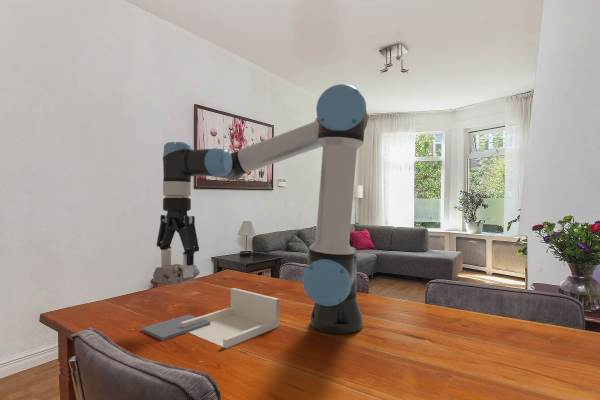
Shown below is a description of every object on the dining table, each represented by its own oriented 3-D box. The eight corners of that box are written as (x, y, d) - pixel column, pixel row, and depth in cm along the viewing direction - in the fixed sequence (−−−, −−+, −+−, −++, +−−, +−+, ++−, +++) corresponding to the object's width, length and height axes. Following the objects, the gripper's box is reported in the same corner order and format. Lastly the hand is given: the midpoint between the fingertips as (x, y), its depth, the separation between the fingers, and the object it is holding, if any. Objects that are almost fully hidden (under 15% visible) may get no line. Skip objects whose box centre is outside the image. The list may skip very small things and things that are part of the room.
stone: (179, 264, 108) (205, 263, 104) (178, 283, 107) (204, 283, 103) (145, 263, 96) (173, 261, 92) (143, 284, 95) (172, 284, 91)
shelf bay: (279, 327, 101) (279, 298, 101) (226, 349, 86) (226, 315, 86) (233, 313, 113) (233, 287, 113) (180, 330, 98) (180, 301, 98)
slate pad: (210, 324, 102) (210, 322, 102) (162, 340, 90) (162, 337, 90) (188, 316, 109) (188, 314, 109) (141, 330, 97) (141, 327, 97)
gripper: (212, 197, 95) (212, 277, 95) (167, 197, 110) (167, 267, 110) (188, 196, 89) (188, 282, 89) (144, 197, 104) (143, 271, 104)
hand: (176, 274), depth 100 cm, fingers closed on stone, 11 cm apart
